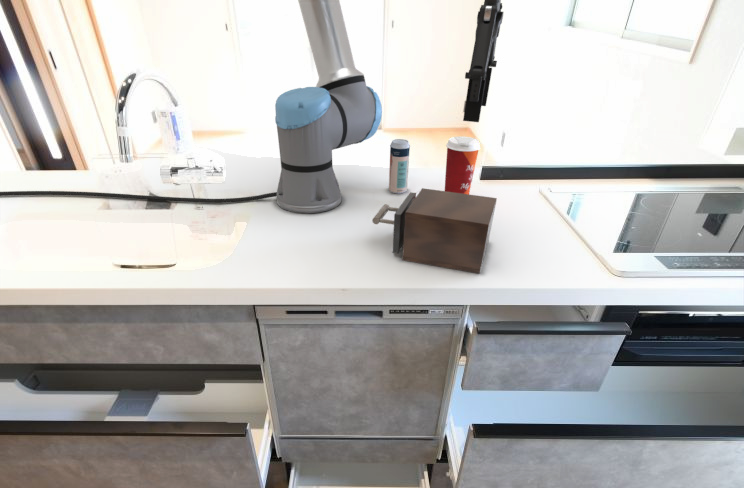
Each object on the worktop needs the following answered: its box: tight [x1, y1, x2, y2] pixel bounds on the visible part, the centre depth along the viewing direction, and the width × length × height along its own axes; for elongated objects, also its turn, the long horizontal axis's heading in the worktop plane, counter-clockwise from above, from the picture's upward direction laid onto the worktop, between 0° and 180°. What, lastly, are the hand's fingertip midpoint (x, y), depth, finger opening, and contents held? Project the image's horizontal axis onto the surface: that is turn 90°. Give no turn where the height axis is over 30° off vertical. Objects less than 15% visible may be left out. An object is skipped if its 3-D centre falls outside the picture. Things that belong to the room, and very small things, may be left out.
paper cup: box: [444, 135, 481, 195], centre depth 104 cm, size 8×8×14 cm
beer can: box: [387, 138, 411, 195], centre depth 109 cm, size 5×5×12 cm
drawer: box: [372, 191, 417, 254], centre depth 86 cm, size 18×11×8 cm, turn 71°
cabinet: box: [402, 187, 498, 274], centre depth 85 cm, size 15×13×10 cm
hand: (475, 112), depth 83 cm, fingers open, 13 cm apart
